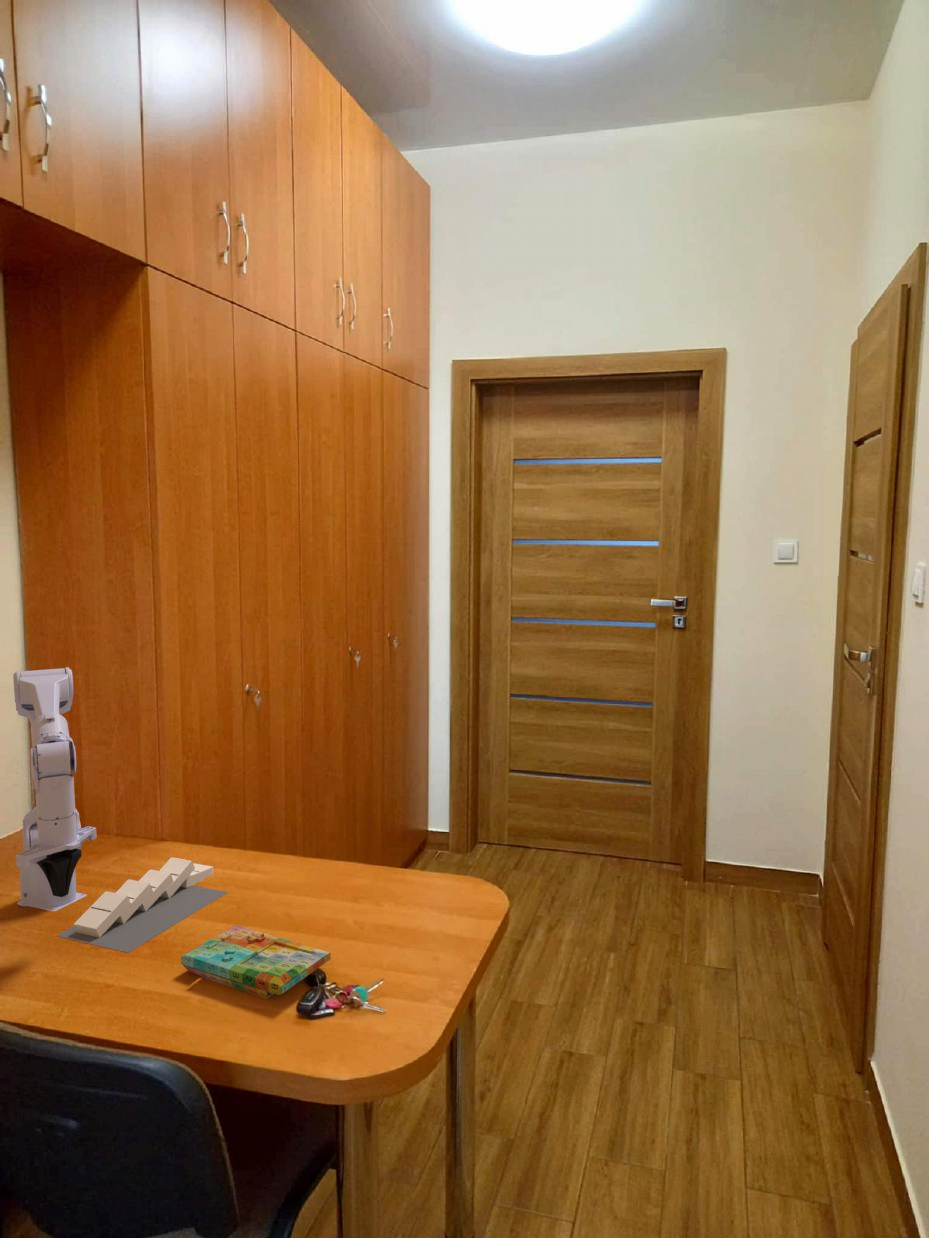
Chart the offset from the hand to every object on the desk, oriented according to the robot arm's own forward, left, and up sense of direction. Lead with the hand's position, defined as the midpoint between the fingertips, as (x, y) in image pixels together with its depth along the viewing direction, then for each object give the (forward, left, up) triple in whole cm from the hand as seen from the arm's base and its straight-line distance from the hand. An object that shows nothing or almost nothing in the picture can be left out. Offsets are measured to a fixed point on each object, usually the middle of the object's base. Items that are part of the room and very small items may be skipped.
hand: (60, 894), depth 146 cm
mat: (+3, +16, -10) cm, 19 cm away
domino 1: (0, +5, -8) cm, 10 cm away
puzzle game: (+34, +6, -10) cm, 36 cm away
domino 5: (0, +27, -8) cm, 28 cm away
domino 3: (0, +16, -8) cm, 18 cm away
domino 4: (0, +22, -8) cm, 24 cm away
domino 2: (0, +11, -8) cm, 14 cm away
